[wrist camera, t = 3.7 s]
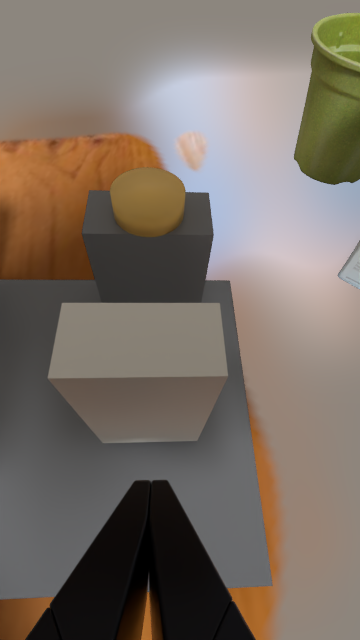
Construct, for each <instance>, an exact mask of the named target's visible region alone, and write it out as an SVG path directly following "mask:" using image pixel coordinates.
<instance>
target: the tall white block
mask: <svg viewBox="0 0 360 640" xmlns="http://www.w3.org/2000/svg"><path fill="white" fill-rule="evenodd" d="M227 378H228V370H227V361H226V353H225V344H224V335H223V327H222V318H221V309H220V303H62V305H61V311H60V316H59V321H58V326H57V332H56V337H55V342H54V347H53V353H52V358H51V363H50V368H49V373H48V380H49V381H50V382H51V383H52V384H53V385H54V387H55V388H56V389H57V390H58V391H59V392H60V394H61V395H62V396H63V397H64V398H65V400H66V401H67V402H68V403H69V404H70V405H71V407H72V408H73V409H74V410H75V411H76V412H77V414H78V415H79V416H80V417H81V418H82V419H83V421H84V422H85V423H86V424H87V425H88V426H89V428H90V429H91V430H92V431H93V432H94V433H95V435H96V436H97V437H98V438H99V439H100V440H101V442H102V443H131V442H173V441H197V440H198V438H199V436H200V434H201V432H202V430H203V428H204V426H205V424H206V421H207V419H208V417H209V415H210V413H211V411H212V409H213V407H214V405H215V403H216V401H217V399H218V396H219V394H220V392H221V390H222V388H223V386H224V384H225V382H226V380H227Z"/></svg>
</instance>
